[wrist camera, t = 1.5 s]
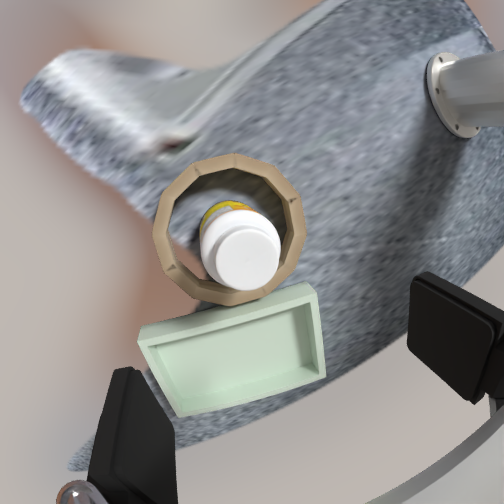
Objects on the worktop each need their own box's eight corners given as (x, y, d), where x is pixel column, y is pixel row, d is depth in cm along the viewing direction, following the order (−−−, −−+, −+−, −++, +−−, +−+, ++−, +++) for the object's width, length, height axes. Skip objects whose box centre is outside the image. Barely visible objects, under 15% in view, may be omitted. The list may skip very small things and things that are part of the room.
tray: (305, 281, 30) (316, 292, 27) (317, 362, 34) (326, 376, 31) (141, 326, 28) (136, 341, 25) (178, 400, 32) (178, 417, 29)
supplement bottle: (268, 236, 28) (306, 272, 18) (219, 267, 28) (233, 319, 18) (238, 187, 26) (264, 197, 17) (187, 220, 26) (183, 249, 17)
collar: (282, 143, 26) (289, 141, 24) (306, 273, 30) (314, 281, 28) (141, 178, 24) (136, 179, 22) (181, 309, 28) (180, 319, 26)
